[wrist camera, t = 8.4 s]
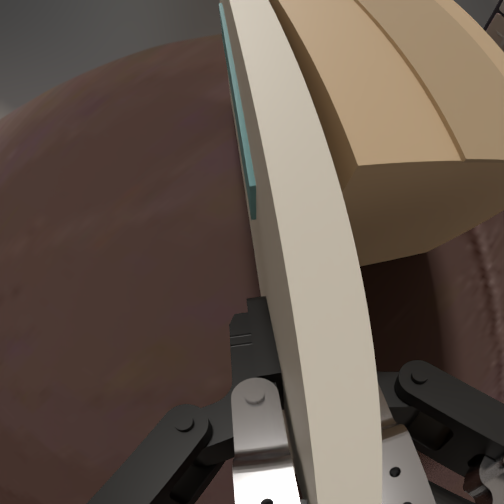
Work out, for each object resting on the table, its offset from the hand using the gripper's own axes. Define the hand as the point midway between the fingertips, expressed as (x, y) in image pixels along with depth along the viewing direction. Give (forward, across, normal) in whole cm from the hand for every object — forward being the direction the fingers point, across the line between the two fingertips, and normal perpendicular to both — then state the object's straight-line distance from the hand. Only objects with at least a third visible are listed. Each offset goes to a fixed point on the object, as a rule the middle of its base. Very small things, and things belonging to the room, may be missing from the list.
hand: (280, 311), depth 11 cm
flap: (+8, 0, 0) cm, 8 cm away
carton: (+10, +6, +2) cm, 12 cm away
